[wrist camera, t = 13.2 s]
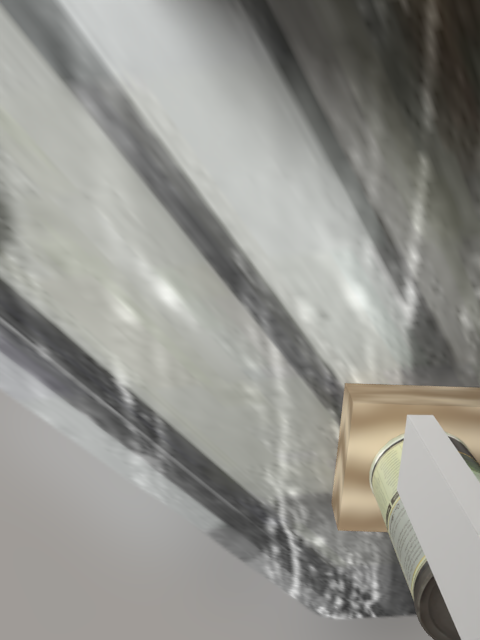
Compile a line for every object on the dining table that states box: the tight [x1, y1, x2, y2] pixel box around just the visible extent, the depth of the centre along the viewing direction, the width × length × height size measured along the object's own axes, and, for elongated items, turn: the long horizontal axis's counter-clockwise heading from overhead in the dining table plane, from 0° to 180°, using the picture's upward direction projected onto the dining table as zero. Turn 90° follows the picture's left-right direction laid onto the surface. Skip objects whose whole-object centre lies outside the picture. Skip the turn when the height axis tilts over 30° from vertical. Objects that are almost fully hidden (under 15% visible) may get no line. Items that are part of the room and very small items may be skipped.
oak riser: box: [332, 383, 480, 532], centre depth 47 cm, size 15×15×4 cm
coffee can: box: [369, 432, 480, 640], centre depth 38 cm, size 10×10×14 cm
